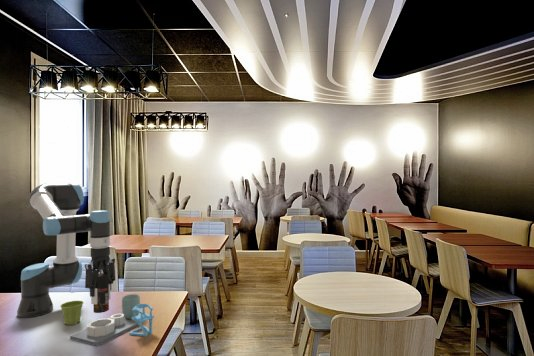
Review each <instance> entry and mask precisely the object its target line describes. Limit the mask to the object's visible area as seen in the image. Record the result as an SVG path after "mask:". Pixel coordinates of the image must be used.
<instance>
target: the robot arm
mask: <svg viewBox="0 0 534 356" xmlns="http://www.w3.org/2000/svg"><path fill="white" fill-rule="evenodd" d="M84 201H85V197H84V191H83V189H82V186H81V184H78V183H74V182H73V183H72V182H62V183H60V182H58V183H57V182H56V183H51V182H50V183H42V184H40V185H37V186H36V187H34V189H32V191H31V192H30V193H29V196H28V202H29V204H30V206H31V207H32V208H33V209H34V210H37V212H38V213H39V215H40V217H41V218H42V221H43V222H42V230H43V234H44V235H45V236H56V256H55V258H54V259H53V260H52V264H50V265H49V263H48V262H41V263H34V264H31V265H29V266H26V267H25V268H23V269H22V270H21V272H20V273H21V274H20V288H21V289H20V291H21V293H20V302H19V304H18V307H17V309H16V316H17V317H19V318H34V317H39V316H43V315H46V314H49V313H51V312H52V311H53V310H54V304H53V301H52V298H51V297H50V289H55V288H58V287H59V288H60V287H64V286H65V287H66V286H70V285H72V284H73V285H74V284H77V283H78V282H79V281H80V280H81V278H82V274H83V264H82V261H80V260H79V258H78V256H76V235H77V233H86V232H90V237H89V238H90V239H89V240H90V242H89V244H90V246H89V247H90V257H91V260H90V262H89V263H85V264H84V268H85V269H84V270H85V278H84V280H85V281H84V283H85V284H84V288H85V289H89V296H90V301H91V305H93V304H95V305H96V304H97V288H95V287H96V283H97V277H98V274H100V272H101V270H102V273H104V274H108V280H109V300H111V292H112V284H114V282H115V281H116V266H115V262H116V258H113V257H110V254H111V247H110V245H111V238H110V236H111V234H110V233H111V232H110V230H111V229H110V223H111V221H110V220H111V217H110V211H108V210H103V209H102V210H92V211H91V212H90V213H86V214H77V212H78V211H79V210H80V206H82V205H83V204H84Z"/></svg>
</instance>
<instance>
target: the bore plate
mask: <svg viewBox="0 0 534 356" xmlns="http://www.w3.org/2000/svg"><path fill="white" fill-rule="evenodd" d="M138 326H139V324H138V323H137V322H136V321H134V320H131V319H125V318H124V314H123V313H115V314H112V315H110V317H106V318H105V317H104V318H98V319H95V320H93V321H90V322H88V323H87V327H86V328H85V329H84V330H81V331H79V332H77V333H74V334H72V335H69V339H70V340H73V341H77V342H81V343H85V344H89V345H93V346H97V347H98V346H100V345H102V344H105V343H107V342H108V341H111V340H112V339H114V338H116V337H118V336H120V335H122V334H125V333H127V332H128V331H130V330H132V329H134V328H136V327H138Z"/></svg>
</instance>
